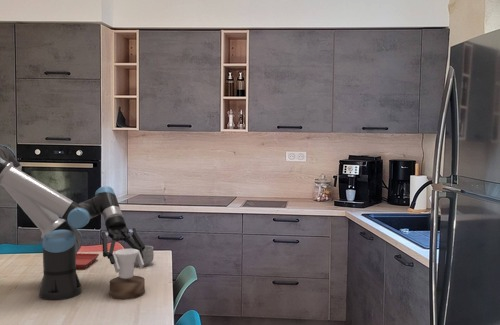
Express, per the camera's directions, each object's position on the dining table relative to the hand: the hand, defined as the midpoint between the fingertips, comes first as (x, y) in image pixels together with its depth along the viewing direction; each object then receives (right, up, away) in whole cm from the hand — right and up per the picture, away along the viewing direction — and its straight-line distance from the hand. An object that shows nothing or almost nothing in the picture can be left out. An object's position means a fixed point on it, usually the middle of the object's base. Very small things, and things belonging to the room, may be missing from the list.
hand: (130, 268), depth 188 cm
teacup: (-5, -8, +45) cm, 46 cm away
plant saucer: (-36, -8, +44) cm, 57 cm away
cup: (-2, -4, +3) cm, 5 cm away
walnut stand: (-2, -10, +3) cm, 11 cm away
